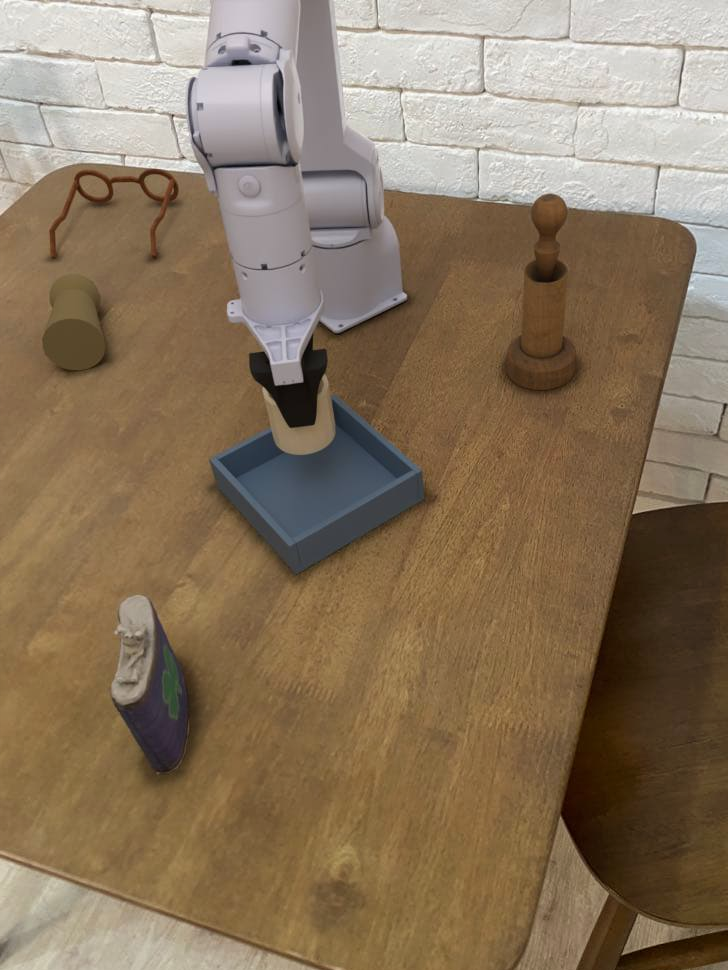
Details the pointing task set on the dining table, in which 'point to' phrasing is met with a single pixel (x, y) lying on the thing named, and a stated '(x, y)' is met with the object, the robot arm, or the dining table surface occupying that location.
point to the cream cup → (307, 436)
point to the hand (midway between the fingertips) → (300, 399)
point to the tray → (318, 488)
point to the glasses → (107, 198)
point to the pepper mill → (74, 324)
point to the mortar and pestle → (543, 308)
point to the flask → (150, 686)
